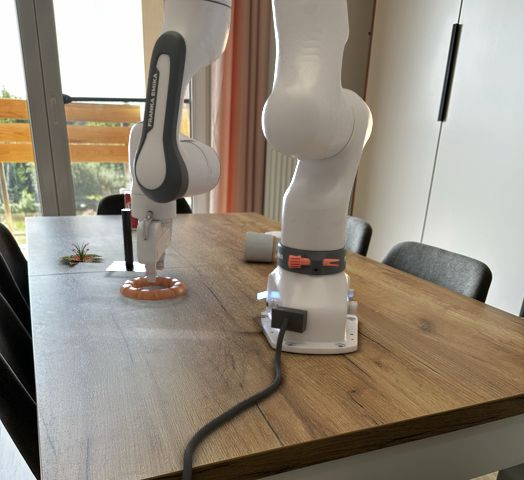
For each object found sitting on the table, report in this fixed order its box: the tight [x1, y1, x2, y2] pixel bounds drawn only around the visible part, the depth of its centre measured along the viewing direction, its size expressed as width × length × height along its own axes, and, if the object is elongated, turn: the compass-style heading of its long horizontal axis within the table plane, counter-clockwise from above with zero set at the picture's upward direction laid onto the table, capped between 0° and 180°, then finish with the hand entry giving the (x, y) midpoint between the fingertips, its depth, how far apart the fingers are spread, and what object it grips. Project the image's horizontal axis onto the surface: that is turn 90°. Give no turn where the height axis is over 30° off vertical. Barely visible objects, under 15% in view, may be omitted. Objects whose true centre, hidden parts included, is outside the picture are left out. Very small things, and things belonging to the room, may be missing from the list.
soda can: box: [123, 190, 139, 231], centre depth 173 cm, size 7×7×12 cm
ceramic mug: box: [243, 231, 277, 263], centre depth 137 cm, size 11×8×8 cm
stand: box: [105, 208, 146, 273], centre depth 119 cm, size 9×9×14 cm
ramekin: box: [264, 230, 281, 252], centre depth 153 cm, size 9×9×4 cm
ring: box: [119, 275, 188, 301], centre depth 104 cm, size 13×13×3 cm
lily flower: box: [59, 242, 105, 266], centre depth 129 cm, size 12×12×5 cm
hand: (156, 275), depth 108 cm, fingers open, 8 cm apart
